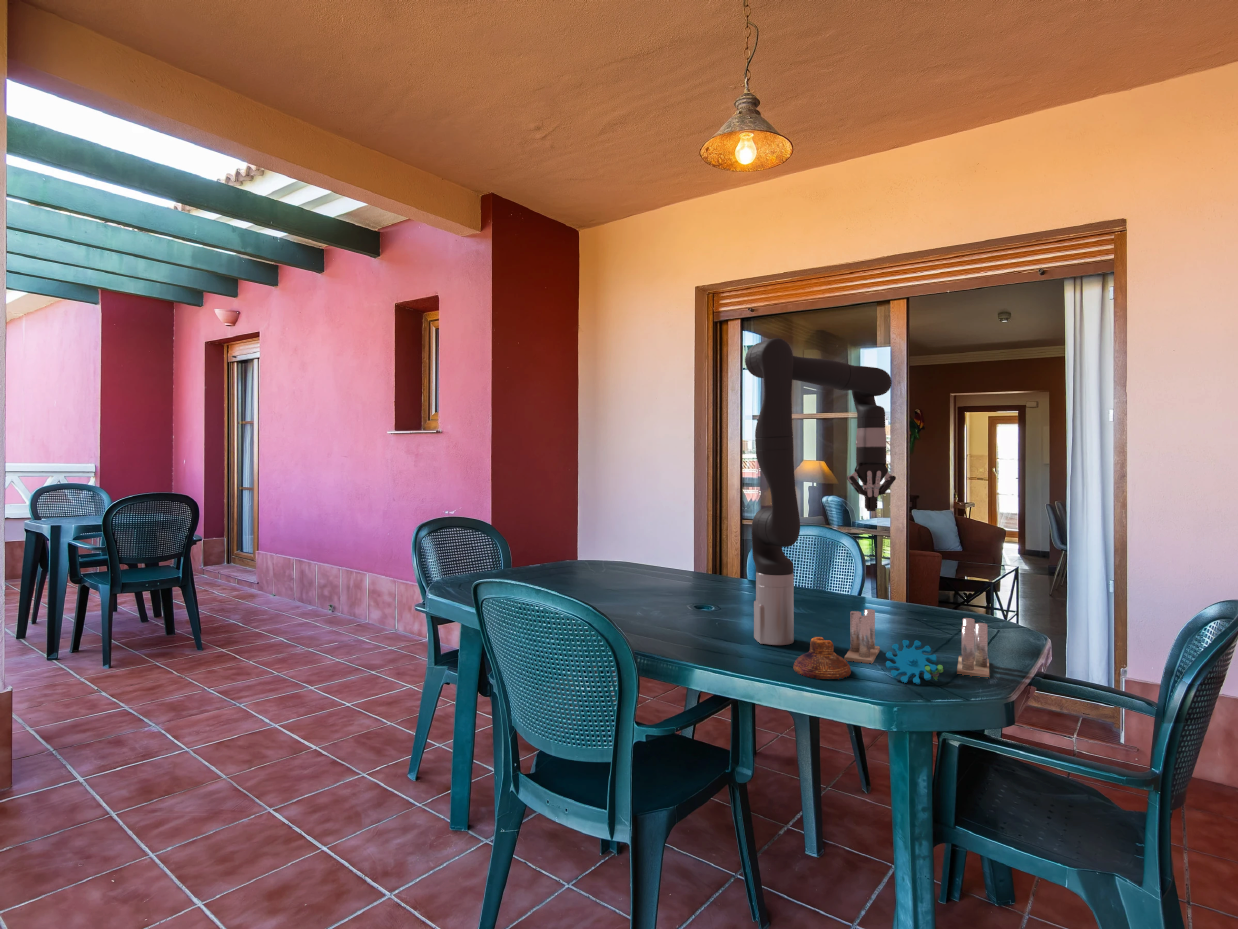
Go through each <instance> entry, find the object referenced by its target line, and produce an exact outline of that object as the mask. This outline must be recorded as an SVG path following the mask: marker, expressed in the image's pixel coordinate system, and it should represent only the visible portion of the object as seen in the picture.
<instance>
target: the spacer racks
mask: <svg viewBox="0 0 1238 929" xmlns="http://www.w3.org/2000/svg"><path fill="white" fill-rule="evenodd" d="M880 651H881V647H880V646H879V645H875V649H870V658H862V657H859V652H852V651H850V649H848V651H847V653H846V654H845V655H844V658H843V659H844V660H847V662H853V661H854V662H853V663H861V662H862V663H861V664H869V663H871V664H870V665H872V663H874V662H875V660H876V658H877V656H878V654H879V653H880ZM957 674H962V675H961V676H964V675H970V676H969V677H972V676H980V677H989V678H990V659H989V658H987V667H978V666H975V660H974V670H973V671H968V670H963V669H962V655H958V660H957V668H956V675H957ZM980 677H979V678H980Z"/></svg>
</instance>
